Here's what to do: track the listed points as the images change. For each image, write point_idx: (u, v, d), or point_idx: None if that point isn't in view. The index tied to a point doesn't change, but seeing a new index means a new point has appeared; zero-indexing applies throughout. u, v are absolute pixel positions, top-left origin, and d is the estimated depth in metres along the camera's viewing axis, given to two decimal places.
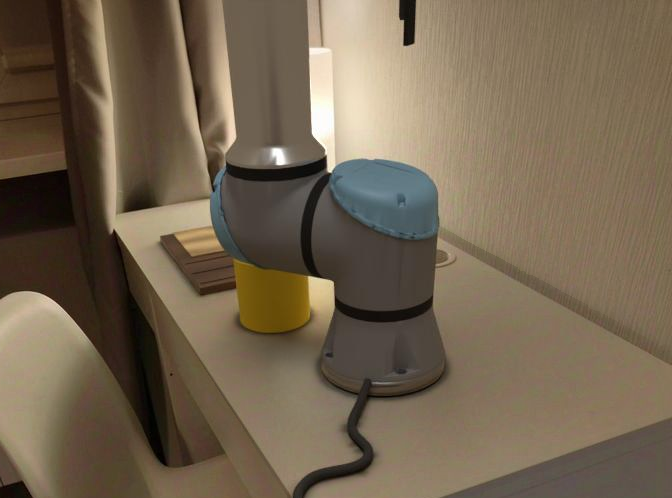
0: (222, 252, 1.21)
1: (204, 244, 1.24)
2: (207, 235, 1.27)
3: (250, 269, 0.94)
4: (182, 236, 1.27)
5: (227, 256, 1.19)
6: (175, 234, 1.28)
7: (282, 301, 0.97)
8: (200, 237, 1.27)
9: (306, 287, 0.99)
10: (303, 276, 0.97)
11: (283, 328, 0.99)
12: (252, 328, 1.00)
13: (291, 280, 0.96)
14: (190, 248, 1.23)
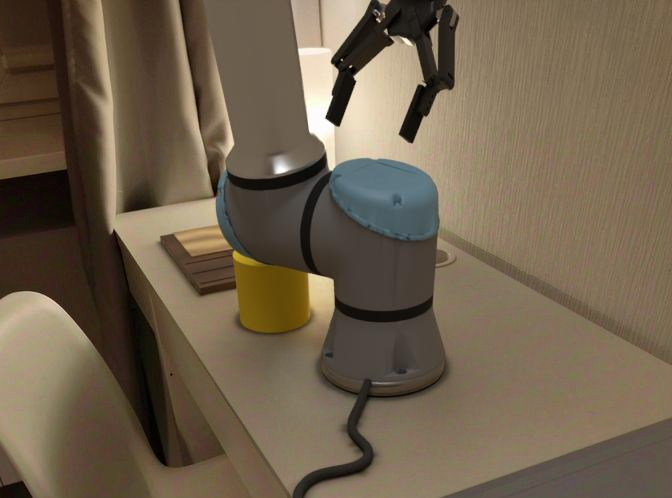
0: (222, 252, 1.21)
1: (204, 244, 1.24)
2: (207, 235, 1.27)
3: (250, 269, 0.94)
4: (182, 236, 1.27)
5: (227, 256, 1.19)
6: (175, 234, 1.28)
7: (282, 301, 0.97)
8: (200, 237, 1.27)
9: (306, 287, 0.99)
10: (303, 276, 0.97)
11: (283, 328, 0.99)
12: (252, 328, 1.00)
13: (291, 280, 0.96)
14: (190, 248, 1.23)
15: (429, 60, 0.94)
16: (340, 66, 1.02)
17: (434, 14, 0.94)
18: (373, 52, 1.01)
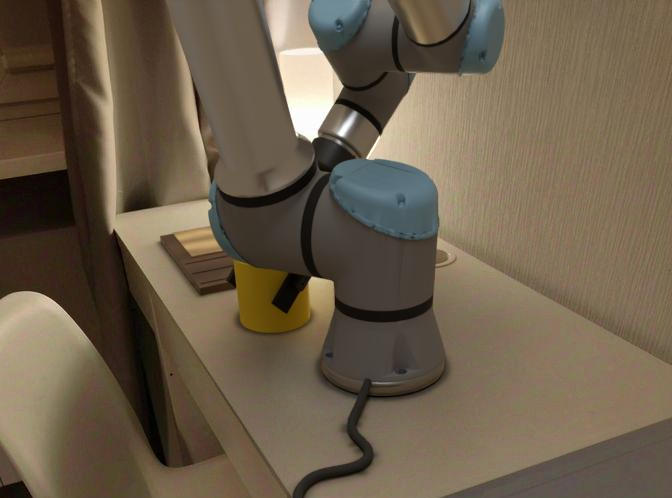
0: (222, 252, 1.21)
1: (204, 244, 1.24)
2: (207, 235, 1.27)
3: (250, 269, 0.94)
4: (182, 236, 1.27)
5: (227, 256, 1.19)
6: (175, 234, 1.28)
7: None
8: (200, 237, 1.27)
9: (306, 287, 0.99)
10: None
11: (283, 328, 0.99)
12: (252, 328, 1.00)
13: None
14: (190, 248, 1.23)
15: None
16: None
17: None
18: None
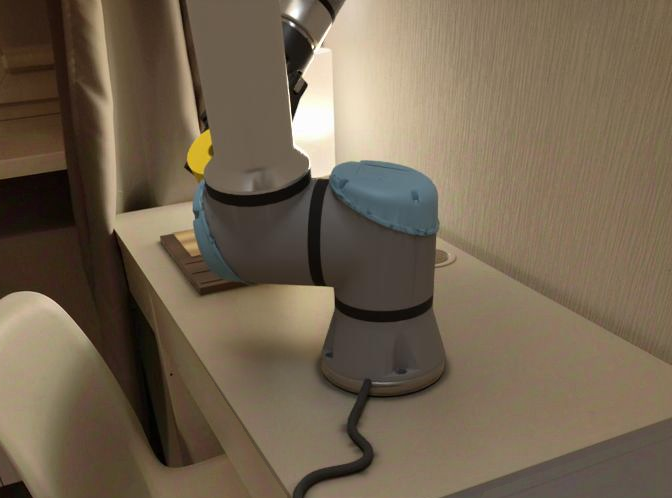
0: None
1: None
2: None
3: None
4: (182, 236, 1.27)
5: None
6: (175, 234, 1.28)
7: None
8: None
9: None
10: None
11: None
12: None
13: None
14: (190, 248, 1.23)
15: None
16: (206, 122, 1.04)
17: (286, 75, 0.97)
18: None
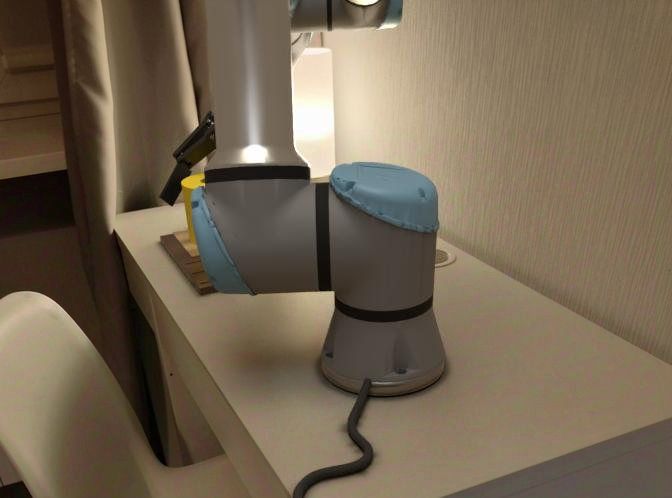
0: None
1: None
2: None
3: None
4: (182, 236, 1.27)
5: None
6: (175, 234, 1.28)
7: None
8: None
9: None
10: None
11: None
12: None
13: None
14: (190, 248, 1.23)
15: None
16: (177, 158, 1.22)
17: None
18: (204, 151, 1.21)
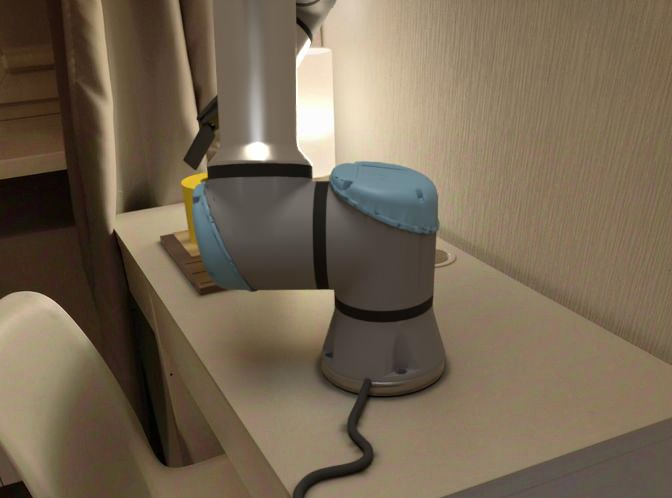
0: None
1: None
2: None
3: None
4: (182, 236, 1.27)
5: None
6: (175, 234, 1.28)
7: None
8: None
9: None
10: None
11: None
12: None
13: None
14: (190, 248, 1.23)
15: None
16: (201, 122, 1.22)
17: None
18: None
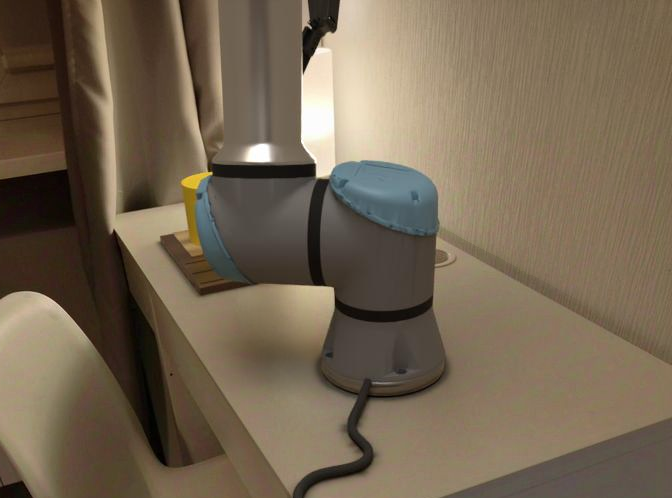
0: None
1: None
2: None
3: (195, 192, 1.18)
4: (182, 236, 1.27)
5: None
6: (175, 234, 1.28)
7: None
8: None
9: None
10: None
11: None
12: (199, 243, 1.23)
13: None
14: (190, 248, 1.23)
15: (316, 6, 1.05)
16: None
17: None
18: None
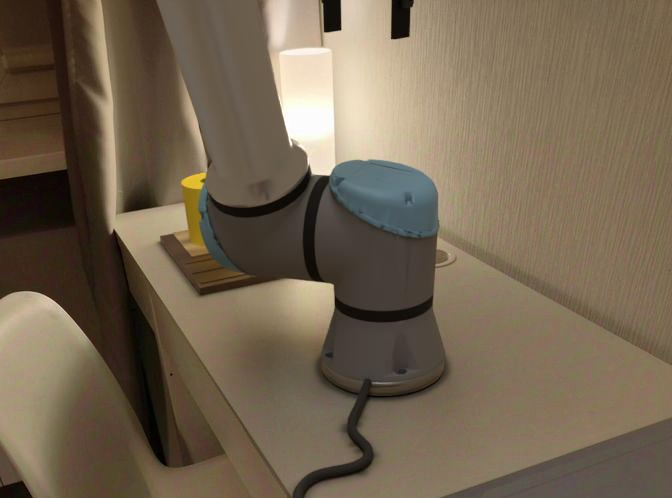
0: None
1: None
2: None
3: (195, 192, 1.18)
4: (182, 236, 1.27)
5: None
6: (175, 234, 1.28)
7: None
8: None
9: None
10: None
11: None
12: (199, 243, 1.23)
13: None
14: (190, 248, 1.23)
15: None
16: None
17: None
18: None
